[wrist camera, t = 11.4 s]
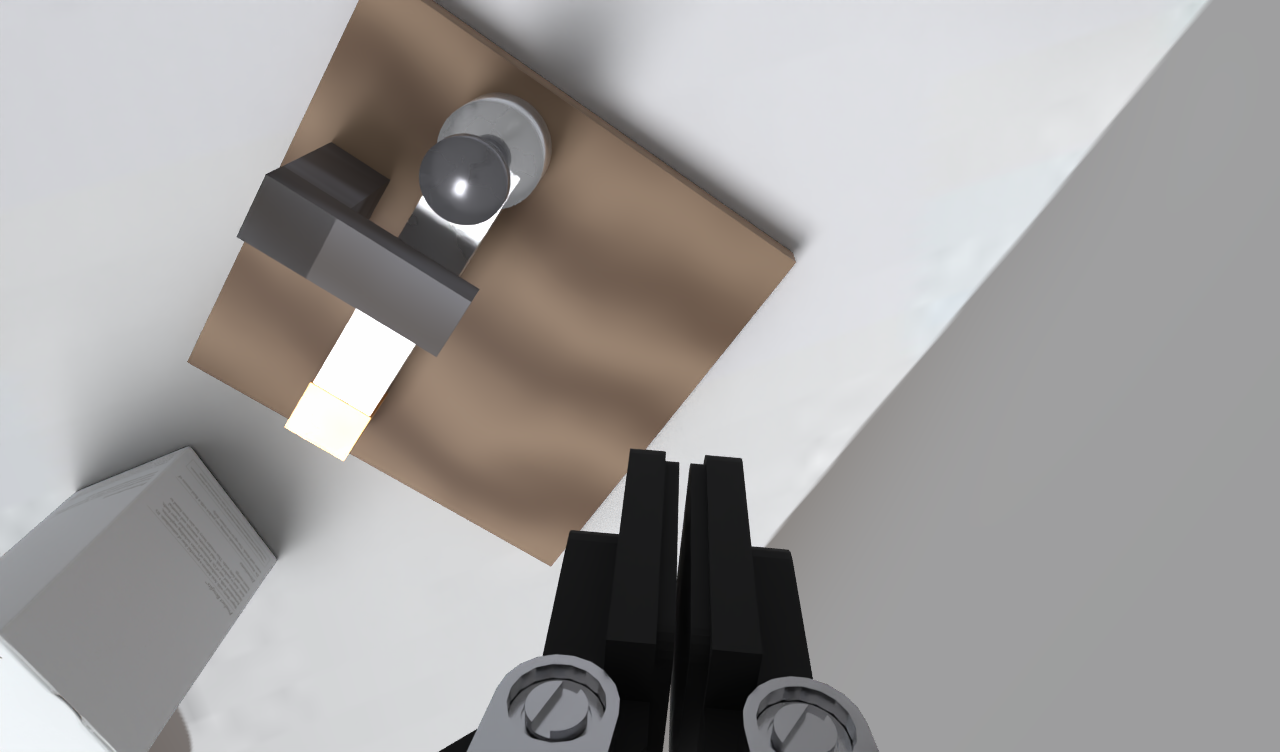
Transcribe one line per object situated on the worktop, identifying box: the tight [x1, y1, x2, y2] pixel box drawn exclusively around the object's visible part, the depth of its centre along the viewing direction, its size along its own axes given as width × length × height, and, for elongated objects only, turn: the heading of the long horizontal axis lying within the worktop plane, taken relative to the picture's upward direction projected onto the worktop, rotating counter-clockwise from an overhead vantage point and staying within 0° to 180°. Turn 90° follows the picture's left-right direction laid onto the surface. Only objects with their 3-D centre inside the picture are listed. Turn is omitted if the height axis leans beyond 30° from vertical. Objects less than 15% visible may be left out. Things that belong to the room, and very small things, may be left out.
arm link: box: [285, 92, 552, 461], centre depth 37 cm, size 19×4×8 cm, turn 145°
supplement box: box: [0, 447, 277, 752], centre depth 43 cm, size 9×9×15 cm
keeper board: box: [187, 0, 796, 566], centre depth 39 cm, size 22×22×8 cm
